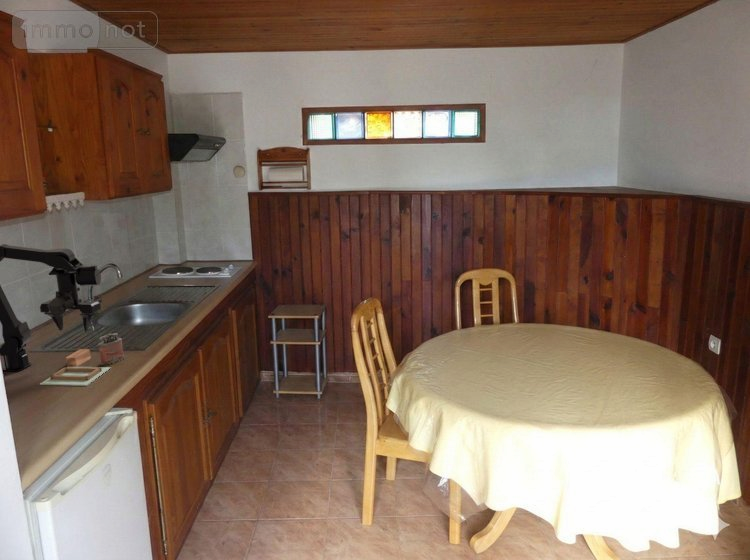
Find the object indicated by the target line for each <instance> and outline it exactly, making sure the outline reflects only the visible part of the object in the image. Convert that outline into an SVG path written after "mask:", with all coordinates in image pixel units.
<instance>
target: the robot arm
mask: <svg viewBox="0 0 750 560" xmlns="http://www.w3.org/2000/svg"><path fill="white" fill-rule="evenodd" d="M4 259H11V260H19V261H26V262H36V263H41V264H44V265H47V266H49V267H51V268H52V269H51V271H49V272H48V275H49V276H55V278H56V284H57V291H55V297H54V298H53V299H51V300H47V301H45V302H42V303H40V306H39V312H40V313H43V314H44V315H47V316H49V317H50V318H51V319H52V320H53V322H54V323H55V326H56V327H57V329H58V330H59V331H60V332H61V331H63V329H64V316H63V315H64V314H65V312H66V311H67V310H79V311H80V314H79V316H80V317H81V318H82V323H83V328H84V332H87V331H88V330H89V329H90V325H91V322H92V320H93V317H94V315H95V313H96V312H98V311H99V310H101V309H102V308H101V303H100V302H99V301H98V300H87V301H86V302H84V303H82V298H80V297H79V291H81V288H80V287H87V286H88V287H91V286H93V287H94V286H100V284H101V282H102V275H101V272H100V270H99V268H98V265H97V264H94V265H93V264H92V265H85V266H84V264H83V263H82V262H80V260H79V259H78V258H77V257H76V255H75V253H74V252H73V251H72V249H69V248H52V249H51V248H50V249H41V248H39V249H38V248H33V247H26V246H24V247H23V246H18V245H17V246H16V245H9V244H5V243H4V244H0V262H1V261H3V260H4ZM77 285H79V286H80V287H78V286H77ZM0 324H1V328H2V329H1V335H2V339H3V342H4V343H3V344H2V345H1V347H0V356H1V357H3V358H2V359H3V362H4V368H3V369H6V371H5V372H8V371H7V370H10V371H9V372H21V371H23V370H24V369H26V368H27V366H28V365H30V364H31V365H32V362H29V356H28V353H27V350H26V349H24V348H25V347H27V344H28V342H29V341H30V340H31V338H32V334H31V333H32V332H33V331H32V330H31V329H30V328H29V325H28V322H27V321H24V322H22V321H20V320H19V319H18V318H17V316H16V314H15V312H14V310H13V308H12V306H11V304H10V302H9V300H8V298H7V296H6V294H5V292H4V290H3V287H2V286H1V284H0ZM31 365H30V366H31ZM25 367H26V368H25ZM28 367H29V366H28ZM23 368H24V369H23ZM22 369H23V370H22ZM20 370H21V371H20Z"/></svg>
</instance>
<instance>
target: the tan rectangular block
mask: <svg viewBox="0 0 750 560" xmlns="http://www.w3.org/2000/svg"><path fill="white" fill-rule="evenodd" d="M91 358H92V356H91V351H90V349H88V348H87V349H85V348H83V349H81V348H79V349H78V350H77V351H75V352H73V353H71V354H70V355H68V356H67V357H65V360H66V367H80V365H81V366H82V364H84V363H85V362H88V361H89V360H90V359H91Z"/></svg>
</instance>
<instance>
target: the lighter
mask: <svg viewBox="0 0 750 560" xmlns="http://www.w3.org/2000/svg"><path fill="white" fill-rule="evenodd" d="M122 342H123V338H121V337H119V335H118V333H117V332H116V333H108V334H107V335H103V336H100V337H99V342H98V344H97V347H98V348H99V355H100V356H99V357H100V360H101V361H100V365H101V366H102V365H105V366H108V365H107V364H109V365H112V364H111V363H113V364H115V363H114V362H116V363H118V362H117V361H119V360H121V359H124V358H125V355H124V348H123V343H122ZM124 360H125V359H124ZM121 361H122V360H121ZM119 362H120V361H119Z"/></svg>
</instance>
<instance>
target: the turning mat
mask: <svg viewBox="0 0 750 560" xmlns="http://www.w3.org/2000/svg"><path fill="white" fill-rule="evenodd" d="M110 368H111V369H112V367H110V366H109V367H106V366H103V367H102V366H77V367H67V366H65V367H63V368H61V369H59V370H58V371H56V372H54V373H53V374H51V375H50V376H49V377H48V378H47V379H45V380H44V381H42V382H40V383H39V385H40V386H71V387H72V386H74V387H80V386H82V387H87V386H89V385H90V384H92V383H93V382H94V381H96V380H97V379H99V378H100V377H101V375H102V374H103V373H104V374H106V373H107V372H109V371H110V370H111V369H110ZM109 369H110V370H109ZM108 370H109V371H108ZM106 371H107V372H106ZM105 372H106V373H105ZM104 374H103V375H104ZM103 375H102V376H103ZM99 376H100V377H99ZM98 377H99V378H98ZM96 378H97V379H96ZM95 379H96V380H95ZM91 382H92V383H91Z"/></svg>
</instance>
